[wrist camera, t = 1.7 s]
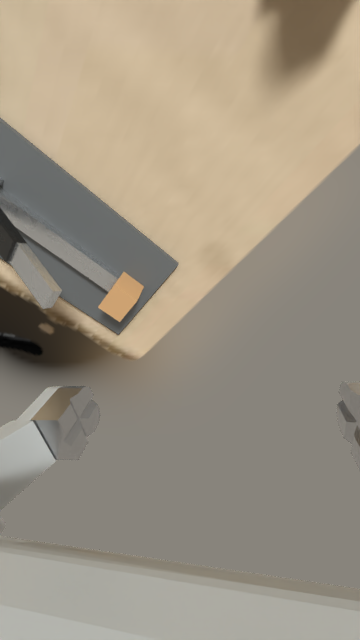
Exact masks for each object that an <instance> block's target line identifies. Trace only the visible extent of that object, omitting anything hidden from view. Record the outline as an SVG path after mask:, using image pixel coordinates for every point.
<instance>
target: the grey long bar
mask: <svg viewBox="0 0 360 640" xmlns="http://www.w3.org/2000/svg"><path fill="white" fill-rule="evenodd" d="M3 181H4V179H2V178H1V177H0V185H2V183H3ZM0 208H1V209H2V211H3V212H4V213H5V214H6V216H7V217H8V218H9V220H10V221H11V222H12V224H13V225H14V226H15V227H16V228H18V229H19V230H20V231H22V232H23V233H25V234H26V235H28V236H29V237H30V238H32V239H33V240H35V241H36V242H38V243H39V244H40V245H42V246H43V247H45V248H46V249H48V250H49V251H51V252H52V253H53V254H55V255H56V256H58V257H59V258H61V259H62V260H63V261H65V262H66V263H68V264H69V265H71V266H72V267H73V268H75V269H76V270H78V271H79V272H81V273H82V274H83V275H85V276H86V277H88V278H89V279H91V280H92V281H93V282H95V283H96V284H98V285H99V286H101V287H102V288H104V289H105V290H106V291H108V292H109V291H110V290H111V289H112V287H113V286H114V284H115V283H116V282H117V280H118V279H119V278H120V276H121V275H119V274H118V273H117V272H115V271H114V270H112V269H111V268H110V267H108V266H107V265H106V264H104V263H103V262H101V261H100V260H99V259H97V258H96V257H95V256H93V255H92V254H91V253H89V252H88V251H86V250H85V249H84V248H82V247H81V246H80V245H78V244H77V243H76V242H74V241H73V240H71V239H70V238H69V237H67V236H66V235H65V234H63V233H62V232H61V231H59V230H58V229H56V228H55V227H54V226H52V225H51V224H50V223H48V222H47V221H46V220H44V219H43V218H41V217H40V216H39V215H37V214H36V213H35V212H33V211H32V210H30V209H29V208H28V207H26V206H25V205H24V204H22V203H21V202H20V201H18V200H17V199H15V198H14V197H13V196H11V195H10V194H9V193H7V192H6V191H5V190H3V189H2V188H0Z"/></svg>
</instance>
